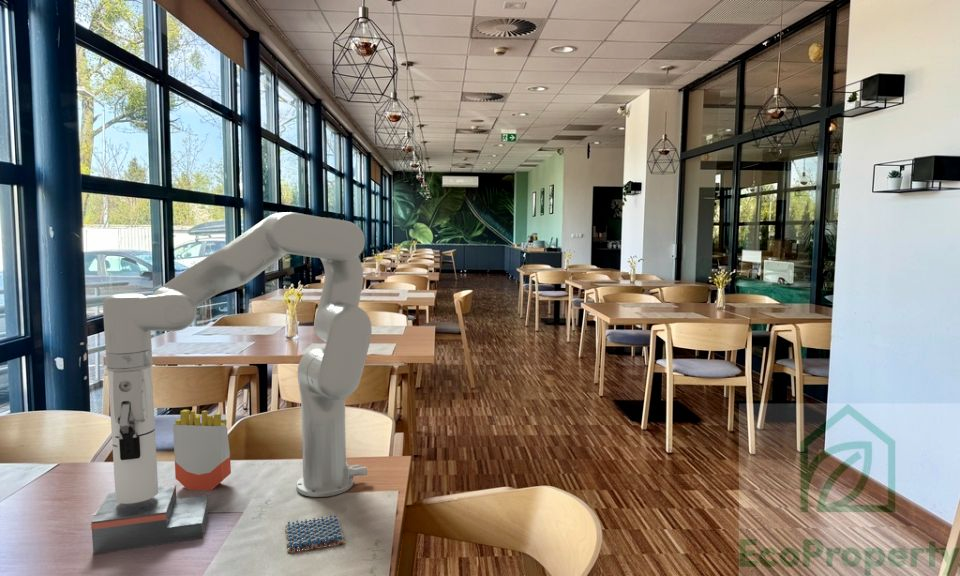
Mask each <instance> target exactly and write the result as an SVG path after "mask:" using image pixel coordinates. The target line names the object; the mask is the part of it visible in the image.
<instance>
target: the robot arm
mask: <svg viewBox="0 0 960 576" xmlns="http://www.w3.org/2000/svg"><path fill="white" fill-rule="evenodd" d="M365 243H366V238H365V234H364V231H363V230H362V228H360V226H359V225H357V224H356V223H353V222H352V221H349V220H343V219H336V218H329V217H321V216H316V215H311V214H304V213H299V212H292V211H289V212H288V211H287V212H276V213H273V214H270V215H268V216H267V217H265V218H263V219H262V220H261V221H259V222H258V223H256V224H255V225H253V226H251V227H250V228H249V229H247V230H246V231H244V232H243V233H242V234H241V235H239V236H237V237H236V238H234V239H233V240H232V241H230V242H228V243H227V244H225V245H224V246H223V247H221V248H220V249H218V250H216V251H214V252H212V253H211V254H209V255H208V256H206V257H205V258H203V259H202V260H200V261H199V262H197V263H195V264H194V265H193V266H191V267H188V268H187V269H185V270H183V272H181V273H180V274H178V275H176V276H175V277H173V278H172V279H170V280H169V281H168V282H166V283H164V285H161V286H160V287H159V288H158V289H156V290H155V291H154V292H153V293H151V295H145V294H142V293H119V294H118V293H117V294H116V293H115V294H113V295H111V294H110V295H109V296H107V297H106V298H104V299H103V303H102V311H103V312H102V314H103V329H104V345H105V361H106V362H105V363H106V365H105V367H106V370H107V372H108V371H112V372H113V400H114V415H115V422H116V423H117V424H119V425H120V430H119V431H120V432H119V445H120V459H121V460H129V459H138V458H140V438H139V436H138V437H137V433H138V422H137V421H141V422H144V421H145V420H146V419H147V404H146V389H145V380H144V374H143V370H142V369H146V368H149V367H153V349H152V331H153V332H179V331H183V330H185V329H187V328H189V327H190V326H191V325H192V324H193V323H194V322H195V320H196V318H197V315H198V314H197V312H198V311H197V310H198V309H197V307H199V306H200V305H202V304H203V303H204V302H207V300H209V299H211V298H212V297H214V296H216V295H218V294H221V293H223V292H226V291H229V290H232V289H236V288H239V287H241V286H243V285H246V284H247V283H249V282H250V281H252V280H253V279H254V278H256V277H258V275H261V274H262V272H263V271H265V270H267V268H269V267H270V266H272V265H273V264H275V263H277V262H278V261H279V260H280V259H282V258H283V257H284V256H286V255H288V254H289V255H294V256H295V255H296V256H300V257H301V256H303V257H309V258H318V259H320V261H321V263H322V266H323V269H324V281H323V286H322V292H321V295H320V299H319V301H318V306H317V309H316V313H315V317H314V322H313V329H314V333H315V335H316V336H317V337H318V338H319V339H320V340H322V341H323V342H325V347H316V348H313V349H310V350H308V351H306V352H305V354H303V355H302V357H301V359H300V361H299V363H298V366H297V381H298V382H297V383H298V390H299V394H300V404H301V406H300V407H301V444H302V445H301V446H302V449H301V451H302V477H301V478H299V479H297V481H296V484H295V488H296V492H298V493H299V494H301V495H302V496H307V497H311V498H312V497H313V498H325V497H331V496H332V497H333V496H336V495H340V494H343V493H345V492H347V491H349V490H350V489H351V488H352V487H353V485H354V477H358V476H359V477H363V476H368V468H367V466H361V465H360V464H354V465H350V464H348V462H347V455H346V453H347V452H346V451H347V450H346V449H347V448H346V447H347V446H346V404H345V399H346V398H348V397H350V396H351V395H353V393H354V392H355V391H356V390H357V388H358V386H359V384H360V382H361V379H362V375H363V373H364V368H365V364H366V361H367V356H368V352H369V348H370V343H371V339H372V322H371V319H370V317H369V315H368V313H367V312H366V311H365V310H364V309H362V307H359V305H360V300H361V294H362V290H363V284H364V270H363V266H362V261H361V259H360V257H359V256H360V255H361V254H362V253H363V251H364V248H365V245H366V244H365ZM125 385H126V386H125ZM130 411H131V412H132V414H133V415H134V417H135V420H133V421H129V418H130ZM119 417H120V420H118V418H119ZM119 422H120V423H119ZM129 425H133V428H132V427H131V426H130V427H129Z"/></svg>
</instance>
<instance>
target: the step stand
mask: <svg viewBox="0 0 960 576" xmlns="http://www.w3.org/2000/svg"><path fill="white" fill-rule="evenodd" d="M209 508H210V505H209V495H208V494H206V495H198V496H189V497H182V498H177V485H176V484H173V485H165V486H158V494H157V495H156V496H154V497H153V498H151V499H148V500H145V501H142V502H137V503H130V504H124V503H119V502H117V501H116V495H115V491H113V492H108V494H107V495H106V497H105V498H104V500H103V502H102V504H101V506H100V507H99V509H98V511H97V512H96V514H95V515H94V517H93V519H92V521H91V523H90V526H91V527H90V529H91V538H92V554H93V555H94V554H95V555H97V554H103V553H109V552H115V551H116V552H117V551H122V550H123V551H124V550H131V549H137V548H138V549H139V548H145V547H150V546H158V545H164V544H165V545H166V544H170V543H172V544H173V543H178V542H185V541H192V540H193V541H194V540H199V539H203V537H204V534H205V529H206V524H207V519H208V515H209V510H210V509H209Z"/></svg>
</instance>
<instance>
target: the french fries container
mask: <svg viewBox="0 0 960 576" xmlns="http://www.w3.org/2000/svg"><path fill="white" fill-rule="evenodd" d="M179 413H180V419H176V420H174V421H175V422H174V424H172V430H173V431H172V432H173V448H174V449H173V452H174V473H175V480H177V481H178V483H180V484H181V486H183V487H184V488H185V489H186V490H187V489H188V490H191V491H210V490H211V491H212V490H213V489H214V488H216V487H217V486H218V485H220V484H221V483H222V482H223V481H224V480H225V479H226V478H228V476H229V475H231V473H232V468H231V467H232V465H231V464H232V463H231V452H230V450H231V449H230V443H229V435H228V434H229V433H228V427H227V421H228V420H227V419H226V418H225V419H224V418H223V419H222V413H220V412H216V413H214V414H213V415H212V414H208V410H202V411H201V416H200V414H198V413H196V410H194V409H193V410H190V409H183V410H180V412H179Z"/></svg>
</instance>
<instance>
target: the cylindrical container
mask: <svg viewBox="0 0 960 576" xmlns="http://www.w3.org/2000/svg"><path fill="white" fill-rule="evenodd" d="M152 367H153V366H151V367H149V368H146V369H142V370H143V374H144V380H145V389H146V404H147V419H146V420H145V421H144V422H141V421H137V422H138V433H137V437H138V436H139V438H140V458H138V459H129V460H121V459H120V445H119V432H120V431H119V430H120V425H119V424H117V423H116V422H115V415H114V400H113V372H112V371H108V370H107V376H108V378H107V379H108V392H109V394H108V395H109V407H110V408H109V410H110V411H109V414H110V426H111V427H110V428H111V440H112V441H111V443H112V444H111V445H112V457H113V458H112V459H113V460H112V461H113V475H114V476H113V477H114V479H113V480H114V492H115V495H116V501H117V502H119V503H124V504H130V503H137V502H142V501H145V500H148V499H151V498H153V497H154V496H156V495H157V494H158V487H159V481H158V480H159V479H158V461H157V446H156V445H157V443H156V429H155V427H156V426H155V407H154V406H155V405H154V392H153V391H154V390H153V388H154V387H153V386H154V385H153V370H152ZM125 386H126V385H125ZM118 420H120V417H119V418H118ZM133 420H135V417H134V415H133V414H132V412H131V411H130V418H129V421H133ZM119 423H120V422H119ZM130 426H131V427H132V428H133V425H129V427H130Z"/></svg>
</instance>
